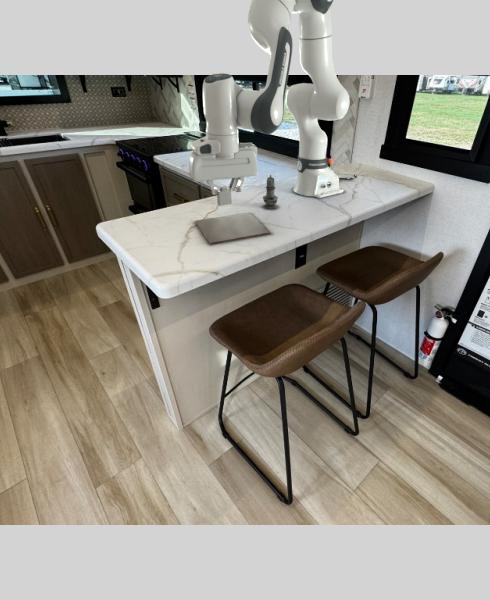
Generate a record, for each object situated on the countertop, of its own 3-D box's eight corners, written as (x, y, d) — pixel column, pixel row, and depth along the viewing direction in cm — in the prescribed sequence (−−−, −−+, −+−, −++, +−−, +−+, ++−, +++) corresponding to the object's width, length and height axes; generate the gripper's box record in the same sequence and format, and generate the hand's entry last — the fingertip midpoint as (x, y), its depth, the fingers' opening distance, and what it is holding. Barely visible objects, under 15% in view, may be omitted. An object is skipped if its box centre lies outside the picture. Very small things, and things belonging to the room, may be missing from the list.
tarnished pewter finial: (270, 203, 125) (271, 171, 118) (281, 207, 122) (282, 175, 115) (259, 206, 122) (259, 174, 115) (269, 210, 119) (269, 178, 111)
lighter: (219, 205, 98) (218, 179, 93) (217, 204, 99) (215, 177, 94) (240, 202, 101) (239, 176, 96) (237, 200, 102) (236, 174, 98)
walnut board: (250, 214, 115) (250, 212, 115) (270, 234, 103) (270, 232, 102) (195, 222, 108) (195, 220, 107) (210, 244, 95) (210, 243, 95)
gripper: (252, 140, 96) (253, 186, 104) (184, 143, 88) (191, 193, 96) (261, 144, 91) (261, 192, 100) (189, 148, 83) (196, 200, 92)
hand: (226, 192), depth 98 cm, fingers closed on lighter, 6 cm apart
